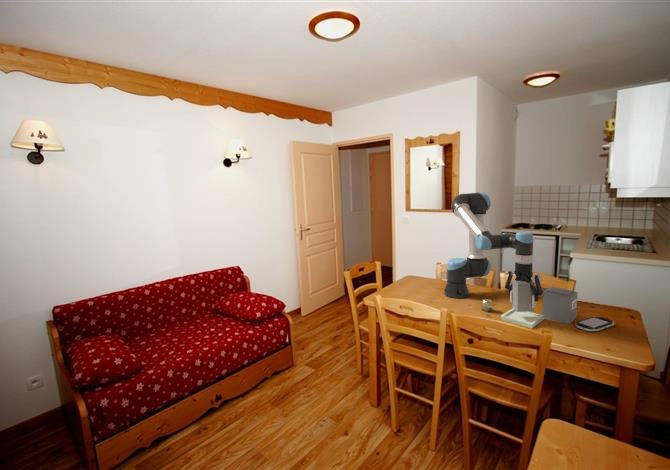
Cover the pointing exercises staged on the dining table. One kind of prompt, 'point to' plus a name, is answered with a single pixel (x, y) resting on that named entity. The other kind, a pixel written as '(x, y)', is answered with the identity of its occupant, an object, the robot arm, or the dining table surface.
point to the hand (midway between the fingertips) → (522, 304)
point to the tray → (522, 318)
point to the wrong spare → (486, 305)
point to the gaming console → (594, 324)
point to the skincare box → (522, 296)
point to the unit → (559, 305)
